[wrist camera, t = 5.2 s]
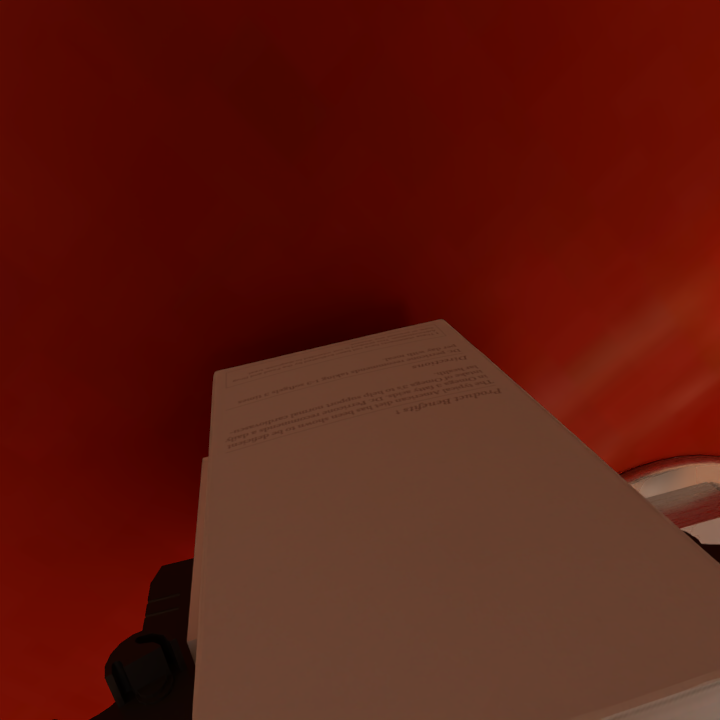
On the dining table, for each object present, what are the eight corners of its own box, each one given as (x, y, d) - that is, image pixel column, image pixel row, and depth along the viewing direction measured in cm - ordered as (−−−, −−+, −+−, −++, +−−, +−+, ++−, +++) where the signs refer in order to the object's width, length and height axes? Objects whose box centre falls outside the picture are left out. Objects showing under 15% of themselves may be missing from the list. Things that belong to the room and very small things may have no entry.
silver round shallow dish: (475, 508, 23) (506, 555, 21) (821, 417, 25) (888, 449, 23) (496, 768, 29) (522, 829, 27) (773, 676, 32) (821, 724, 29)
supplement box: (264, 562, 20) (308, 1163, 8) (209, 364, 17) (159, 875, 5) (471, 508, 21) (767, 985, 9) (452, 311, 18) (851, 652, 6)
